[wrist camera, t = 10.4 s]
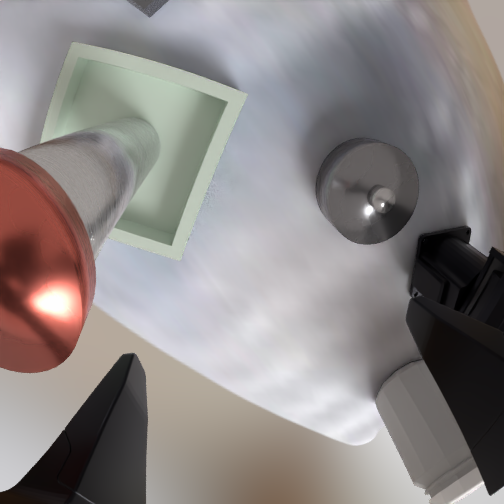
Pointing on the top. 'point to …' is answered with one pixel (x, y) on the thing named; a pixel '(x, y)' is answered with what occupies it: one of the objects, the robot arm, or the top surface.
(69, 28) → the top surface
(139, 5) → the tensioner block
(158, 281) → the top surface
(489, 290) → the robot arm
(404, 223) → the disc
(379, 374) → the top surface
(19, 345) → the pin
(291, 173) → the top surface
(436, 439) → the jar
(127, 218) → the tray
